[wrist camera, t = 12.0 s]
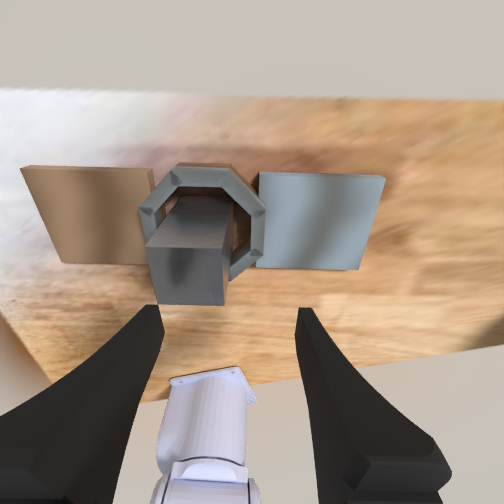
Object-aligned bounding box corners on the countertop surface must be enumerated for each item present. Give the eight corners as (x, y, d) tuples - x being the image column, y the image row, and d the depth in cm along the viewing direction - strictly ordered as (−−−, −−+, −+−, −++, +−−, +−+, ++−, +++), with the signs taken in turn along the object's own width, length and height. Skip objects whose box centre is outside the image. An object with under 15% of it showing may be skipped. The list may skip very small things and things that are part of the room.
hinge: (70, 260, 23) (52, 276, 21) (27, 157, 18) (-2, 165, 16) (353, 268, 23) (362, 285, 21) (382, 167, 19) (398, 176, 16)
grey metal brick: (187, 239, 22) (157, 304, 15) (182, 195, 20) (144, 246, 13) (233, 240, 22) (224, 306, 15) (233, 196, 20) (221, 248, 13)
